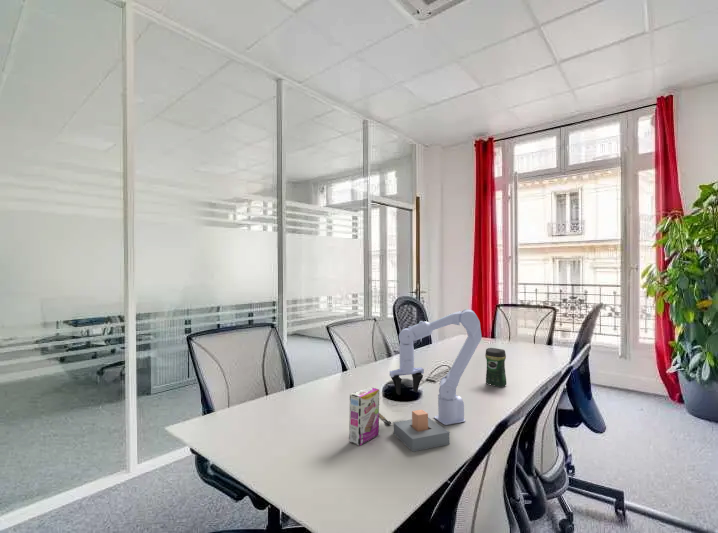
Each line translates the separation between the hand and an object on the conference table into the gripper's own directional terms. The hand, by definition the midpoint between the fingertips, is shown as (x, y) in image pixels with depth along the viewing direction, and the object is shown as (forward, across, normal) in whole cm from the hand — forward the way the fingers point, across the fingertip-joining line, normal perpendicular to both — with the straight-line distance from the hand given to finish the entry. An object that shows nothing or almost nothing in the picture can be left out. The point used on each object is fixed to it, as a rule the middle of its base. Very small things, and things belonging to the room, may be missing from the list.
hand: (407, 392), depth 146 cm
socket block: (+9, +5, +19) cm, 22 cm away
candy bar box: (+10, +23, +12) cm, 28 cm away
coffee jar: (+10, -62, -20) cm, 66 cm away
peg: (+9, +5, +19) cm, 21 cm away
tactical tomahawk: (+10, +11, -5) cm, 16 cm away
